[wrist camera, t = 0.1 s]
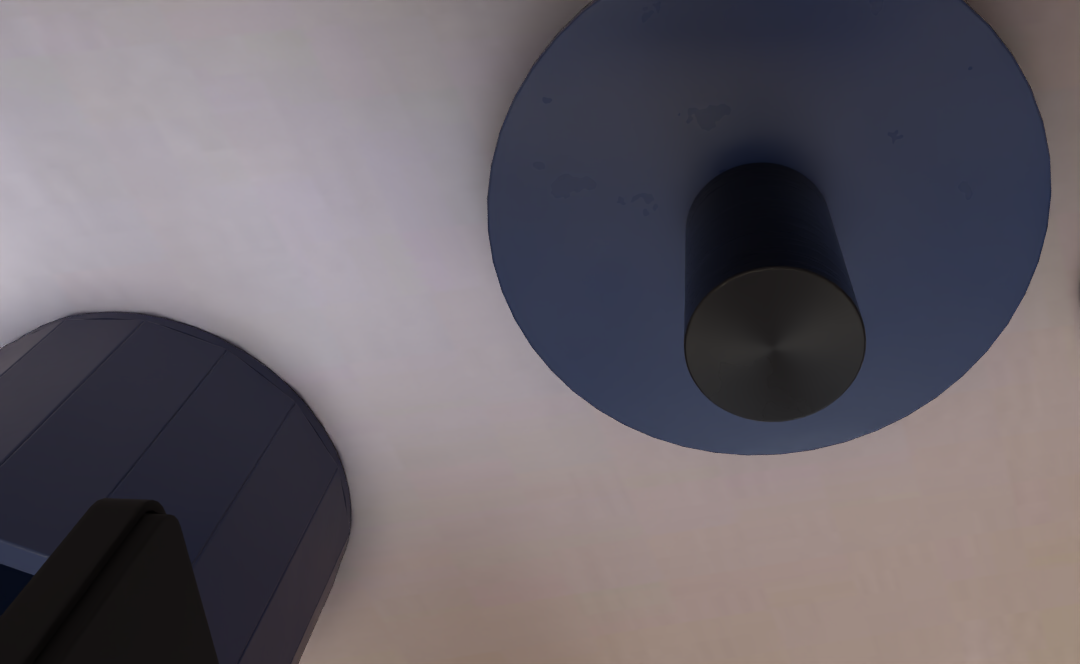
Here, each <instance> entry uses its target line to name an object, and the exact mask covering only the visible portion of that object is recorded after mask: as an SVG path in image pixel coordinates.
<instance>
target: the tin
mask: <svg viewBox="0 0 1080 664" xmlns="http://www.w3.org/2000/svg"><path fill="white" fill-rule="evenodd" d="M103 498H118V499H147V500H155V501H158V502H159V503H160V504H161V505H162V506H163V508H164V510H165V512H166V514H170V515H174V516H175V517H176V518H177V519H178V521H179V523H180V526H181V529H182V533H183V536H184V540H185V543H186V547H187V550H188V554H189V558H190V561H191V565H192V568H193V572H194V575H195V579H196V583H197V586H198V590H199V593H200V597H201V600H202V604H203V608H204V611H205V615H206V618H207V622H208V626H209V629H210V633H211V636H212V640H213V643H214V647H215V651H216V654H217V658H218V661H219V664H298V663H299V661H300V658H301V656H302V654H303V652H304V649H305V647H306V645H307V643H308V640H309V638H310V636H311V634H312V631H313V629H314V627H315V625H316V622H317V620H318V618H319V616H320V613H321V611H322V609H323V606H324V604H325V602H326V600H327V597H328V595H329V593H330V591H331V588H332V586H333V583H334V580H335V577H336V574H337V571H338V568H339V565H340V562H341V559H342V557H343V555H344V552H345V550H346V546H347V542H348V538H349V535H350V521H351V506H350V497H349V489H348V485H347V481H346V477H345V474H344V470H343V467H342V465H341V462H340V460H339V457H338V455H337V452H336V450H335V448H334V446H333V444H332V442H331V441H330V439H329V437H328V435H327V434H326V432H325V430H324V428H323V427H322V425H321V424H320V422H319V421H318V420H317V418H316V417H315V416H314V414H313V413H312V412H311V410H310V409H309V408H308V406H307V405H306V404H305V403H304V402H303V401H302V400H301V399H300V398H299V397H298V395H297V394H296V393H295V392H294V391H293V390H292V389H291V388H290V387H289V386H288V385H287V384H286V383H285V382H283V381H282V380H281V379H280V378H279V377H278V376H276V375H275V374H274V373H273V372H272V371H271V370H270V369H268V368H267V367H266V366H264V365H263V364H261V363H260V362H258V361H257V360H256V359H254V358H253V357H251V356H250V355H248V354H247V353H245V352H244V351H242V350H240V349H238V348H237V347H235V346H233V345H231V344H229V343H228V342H226V341H224V340H222V339H220V338H218V337H216V336H214V335H211V334H209V333H206V332H204V331H202V330H199V329H197V328H195V327H192V326H189V325H185V324H182V323H179V322H175V321H172V320H169V319H165V318H159V317H154V316H149V315H143V314H135V313H120V312H105V313H88V314H82V315H77V316H72V317H67V318H63V319H60V320H57V321H54V322H51V323H48V324H46V325H43V326H41V327H39V328H37V329H35V330H33V331H32V332H30V333H28V334H26V335H24V336H23V337H21V338H20V339H19V340H17V341H15V342H13V343H10V344H8V345H6V346H4V347H3V348H1V349H0V617H1V615H2V614H3V613H4V612H5V610H6V609H7V608H8V607H9V606H10V604H11V603H12V602H13V601H14V599H15V598H16V597H17V596H18V595H19V593H20V592H21V591H22V590H23V588H24V587H25V586H26V585H27V584H28V582H29V581H30V580H31V579H32V577H33V576H34V575H35V574H36V573H37V571H38V570H39V569H40V568H41V566H42V565H43V564H44V563H45V562H46V560H47V559H48V558H49V557H50V555H51V554H52V553H53V552H54V551H55V549H56V548H57V547H58V546H59V544H60V543H61V542H62V541H63V540H64V538H65V537H66V536H67V535H68V533H69V532H70V531H71V530H72V529H73V527H74V526H75V525H76V524H77V523H78V521H79V520H80V519H81V518H82V516H83V515H84V514H85V513H86V512H87V510H88V509H89V508H90V507H91V506H92V505H93V504H94V503H95V502H96V501H97V500H100V499H103Z"/></svg>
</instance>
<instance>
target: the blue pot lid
mask: <svg viewBox="0 0 1080 664" xmlns="http://www.w3.org/2000/svg"><path fill="white" fill-rule="evenodd" d="M1050 200H1051V170H1050V154H1049V149H1048V144H1047V139H1046V134H1045V129H1044V124H1043V120H1042V117H1041V114H1040V112H1039V109H1038V106H1037V103H1036V101H1035V98H1034V95H1033V92H1032V90H1031V87H1030V85H1029V83H1028V82H1027V80H1026V78H1025V76H1024V74H1023V73H1022V71H1021V69H1020V67H1019V65H1018V64H1017V62H1016V60H1015V58H1014V56H1013V55H1012V53H1011V52H1010V51H1009V49H1008V48H1007V47H1006V46H1005V44H1004V43H1003V42H1002V40H1001V39H1000V38H999V37H998V35H997V34H996V33H995V32H994V30H993V29H992V28H991V26H990V25H989V24H988V23H987V22H986V21H985V20H984V19H983V18H981V17H980V16H979V15H978V14H977V13H976V12H975V11H974V10H973V9H972V8H971V7H970V6H969V5H967V4H966V3H965V2H964V1H963V0H594V1H593V2H591V3H590V4H589V5H587V6H586V7H584V8H583V9H582V10H581V11H580V12H579V13H578V14H577V15H576V16H575V17H574V18H573V19H572V20H571V21H570V22H569V23H568V24H567V25H566V26H565V27H564V28H563V29H562V30H561V31H560V32H559V33H558V34H557V35H556V36H555V37H554V39H553V40H552V41H551V42H550V44H549V45H548V46H547V48H546V49H545V50H544V51H543V53H542V54H541V55H540V56H539V58H538V59H537V60H536V62H535V63H534V64H533V66H532V68H531V70H530V71H529V73H528V75H527V76H526V78H525V80H524V81H523V83H522V85H521V87H520V88H519V90H518V92H517V93H516V95H515V97H514V99H513V101H512V104H511V106H510V108H509V111H508V113H507V116H506V118H505V120H504V123H503V125H502V128H501V130H500V133H499V137H498V141H497V144H496V148H495V152H494V156H493V160H492V163H491V170H490V179H489V187H488V196H487V210H488V234H489V240H490V246H491V253H492V259H493V264H494V267H495V270H496V273H497V277H498V280H499V283H500V287H501V290H502V293H503V295H504V297H505V299H506V302H507V304H508V306H509V308H510V310H511V312H512V315H513V317H514V319H515V321H516V322H517V324H518V326H519V327H520V329H521V330H522V332H523V334H524V335H525V337H526V338H527V340H528V342H529V343H530V345H531V346H532V348H533V349H534V350H535V351H536V352H537V354H538V355H539V356H540V357H541V359H542V360H543V361H544V362H545V363H546V365H547V366H548V367H549V368H550V370H551V371H552V372H553V373H554V374H556V375H557V376H558V377H559V378H560V379H561V380H562V381H563V382H564V383H565V384H566V385H567V386H568V387H569V388H570V389H571V390H572V391H574V392H575V393H576V394H578V395H579V396H580V397H582V398H583V399H584V400H586V401H587V402H588V403H590V404H591V405H592V406H594V407H595V408H596V409H598V410H599V411H601V412H603V413H605V414H606V415H608V416H610V417H612V418H613V419H615V420H617V421H619V422H620V423H622V424H624V425H626V426H628V427H630V428H633V429H635V430H637V431H640V432H642V433H644V434H647V435H649V436H651V437H654V438H657V439H660V440H663V441H667V442H670V443H673V444H677V445H680V446H683V447H688V448H693V449H699V450H704V451H709V452H714V453H726V454H738V455H774V454H786V453H794V452H801V451H809V450H815V449H819V448H823V447H827V446H831V445H835V444H839V443H844V442H847V441H850V440H852V439H855V438H858V437H861V436H864V435H866V434H869V433H872V432H875V431H877V430H879V429H881V428H883V427H885V426H887V425H890V424H892V423H894V422H896V421H898V420H900V419H902V418H904V417H906V416H908V415H909V414H911V413H913V412H914V411H916V410H917V409H919V408H920V407H922V406H924V405H925V404H927V403H928V402H930V401H932V400H933V399H935V398H936V397H937V396H939V395H940V394H941V393H942V392H944V391H945V390H946V389H947V388H949V387H950V386H951V385H952V384H954V383H955V382H956V381H957V380H959V379H960V378H961V377H962V376H963V375H964V374H965V373H966V372H967V371H968V370H969V369H970V368H971V367H972V366H973V365H974V364H975V363H976V362H977V361H978V360H979V359H980V358H981V357H982V356H983V355H984V354H985V353H986V352H987V351H988V349H989V348H990V347H991V345H992V344H993V343H994V341H995V340H996V339H997V338H998V336H999V335H1000V334H1001V332H1002V331H1003V330H1004V328H1005V327H1006V326H1007V324H1008V323H1009V321H1010V319H1011V318H1012V316H1013V314H1014V312H1015V311H1016V309H1017V307H1018V306H1019V304H1020V302H1021V300H1022V299H1023V297H1024V295H1025V293H1026V291H1027V288H1028V286H1029V284H1030V281H1031V279H1032V276H1033V274H1034V272H1035V269H1036V267H1037V264H1038V262H1039V258H1040V254H1041V251H1042V247H1043V243H1044V239H1045V235H1046V231H1047V227H1048V219H1049V209H1050Z"/></svg>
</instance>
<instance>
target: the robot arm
mask: <svg viewBox="0 0 1080 664" xmlns="http://www.w3.org/2000/svg"><path fill="white" fill-rule="evenodd" d="M0 664H219V661H218V658H217V654H216V651H215V647H214V643H213V640H212V636H211V633H210V629H209V626H208V622H207V618H206V615H205V611H204V608H203V604H202V600H201V597H200V593H199V590H198V586H197V583H196V579H195V575H194V572H193V568H192V565H191V561H190V558H189V554H188V550H187V547H186V543H185V540H184V536H183V533H182V529H181V526H180V523H179V521H178V519H177V518H176V517H175V516H174V515H170V514H166V512H165V510H164V508H163V506H162V505H161V504H160V503H159V502H158V501H155V500H147V499H118V498H103V499H100V500H97V501H96V502H95V503H94V504H93V505H92V506H91V507H90V508H89V509H88V510H87V512H86V513H85V514H84V515H83V516H82V518H81V519H80V520H79V521H78V523H77V524H76V525H75V526H74V527H73V529H72V530H71V531H70V532H69V533H68V535H67V536H66V537H65V538H64V540H63V541H62V542H61V543H60V544H59V546H58V547H57V548H56V549H55V551H54V552H53V553H52V554H51V555H50V557H49V558H48V559H47V560H46V562H45V563H44V564H43V565H42V566H41V568H40V569H39V570H38V571H37V573H36V574H35V575H34V576H33V577H32V579H31V580H30V581H29V582H28V584H27V585H26V586H25V587H24V588H23V590H22V591H21V592H20V593H19V595H18V596H17V597H16V598H15V599H14V601H13V602H12V603H11V604H10V606H9V607H8V608H7V609H6V610H5V612H4V613H3V614H2V615H1V617H0Z"/></svg>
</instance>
